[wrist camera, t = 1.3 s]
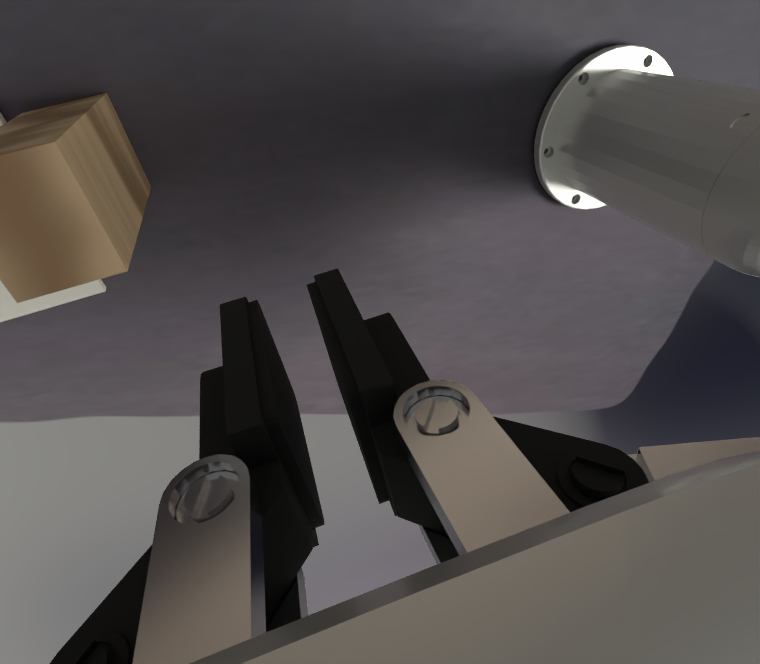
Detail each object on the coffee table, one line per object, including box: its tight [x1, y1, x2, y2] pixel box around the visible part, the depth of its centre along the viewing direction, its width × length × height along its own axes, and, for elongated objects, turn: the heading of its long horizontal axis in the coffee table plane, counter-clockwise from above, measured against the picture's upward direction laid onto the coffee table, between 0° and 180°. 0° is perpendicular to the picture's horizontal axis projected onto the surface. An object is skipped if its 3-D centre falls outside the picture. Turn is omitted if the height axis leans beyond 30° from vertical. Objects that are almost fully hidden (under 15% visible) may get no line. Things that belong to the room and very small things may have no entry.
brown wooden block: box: [0, 93, 151, 303], centre depth 26 cm, size 5×6×13 cm
